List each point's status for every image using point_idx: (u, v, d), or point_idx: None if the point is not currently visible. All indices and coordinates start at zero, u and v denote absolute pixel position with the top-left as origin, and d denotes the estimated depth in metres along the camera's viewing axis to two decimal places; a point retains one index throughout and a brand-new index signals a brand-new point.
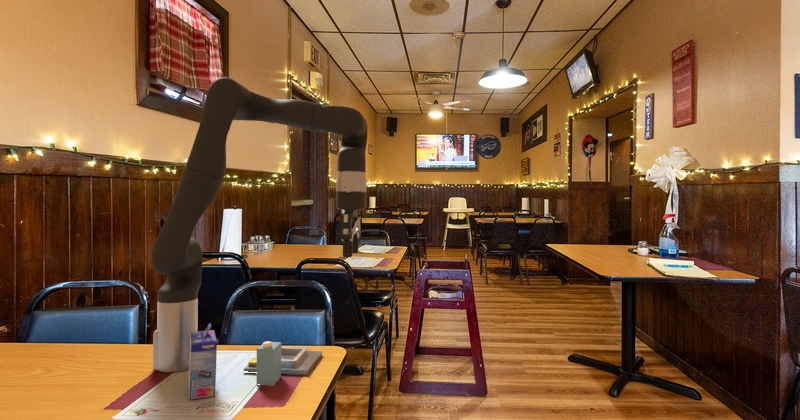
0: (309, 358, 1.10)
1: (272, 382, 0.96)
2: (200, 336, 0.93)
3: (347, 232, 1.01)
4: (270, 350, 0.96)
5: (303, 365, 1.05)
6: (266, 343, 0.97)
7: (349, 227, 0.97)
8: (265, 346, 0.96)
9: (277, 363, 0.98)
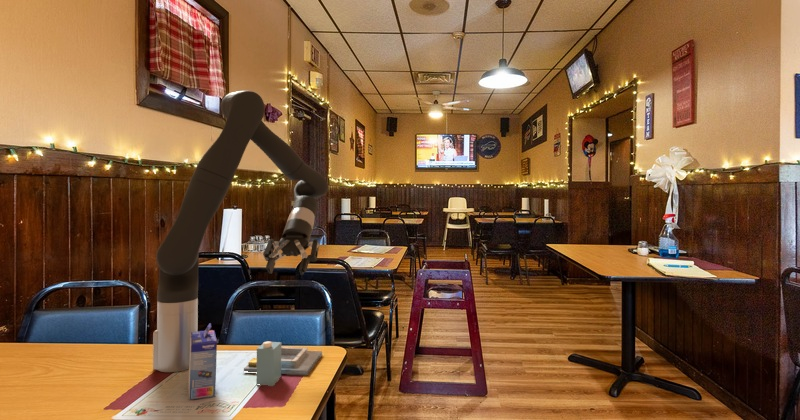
0: (309, 358, 1.10)
1: (272, 382, 0.96)
2: (200, 336, 0.93)
3: None
4: (270, 350, 0.96)
5: (303, 365, 1.05)
6: (266, 343, 0.97)
7: (317, 253, 1.14)
8: (265, 346, 0.96)
9: (277, 363, 0.98)
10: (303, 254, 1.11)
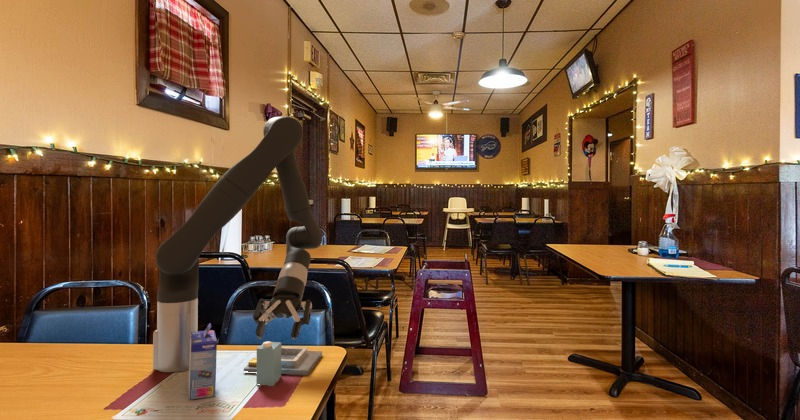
0: (309, 358, 1.10)
1: (272, 382, 0.96)
2: (200, 336, 0.93)
3: None
4: (270, 350, 0.96)
5: (303, 365, 1.05)
6: (266, 343, 0.97)
7: (310, 314, 1.08)
8: (265, 346, 0.96)
9: (277, 363, 0.98)
10: (295, 317, 1.05)
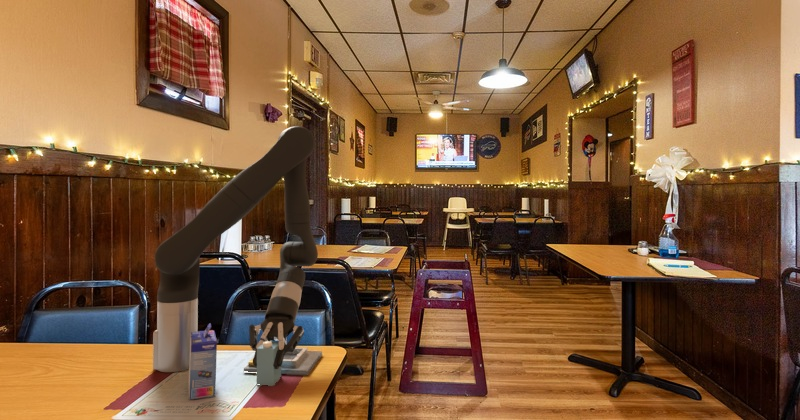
0: (309, 358, 1.10)
1: (272, 382, 0.96)
2: (200, 336, 0.93)
3: None
4: (270, 350, 0.96)
5: (303, 365, 1.05)
6: (266, 343, 0.97)
7: (298, 342, 1.01)
8: (265, 346, 0.96)
9: None
10: (280, 344, 0.99)
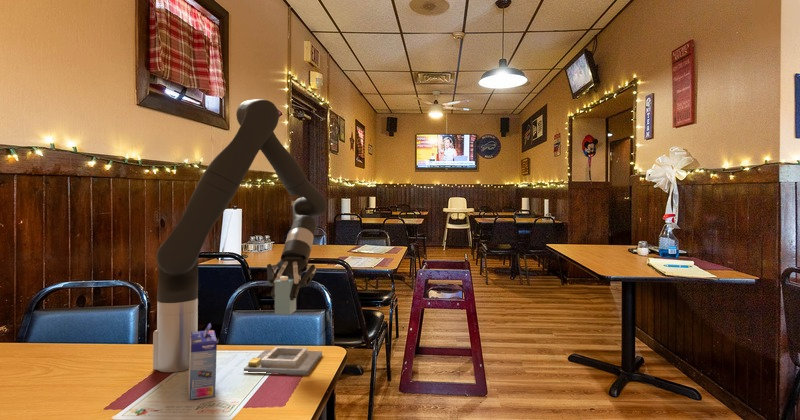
0: (309, 358, 1.10)
1: (288, 311, 1.07)
2: (200, 336, 0.93)
3: None
4: (287, 282, 1.07)
5: (303, 365, 1.05)
6: (282, 276, 1.08)
7: (311, 278, 1.12)
8: (282, 279, 1.07)
9: None
10: (295, 279, 1.10)
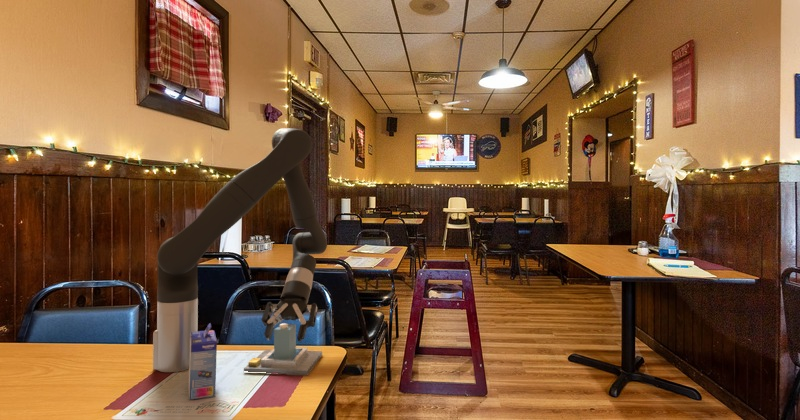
0: (309, 358, 1.10)
1: None
2: (200, 336, 0.93)
3: None
4: (286, 331, 1.07)
5: (303, 365, 1.05)
6: (282, 324, 1.08)
7: None
8: (282, 327, 1.07)
9: (292, 343, 1.09)
10: (301, 320, 1.10)
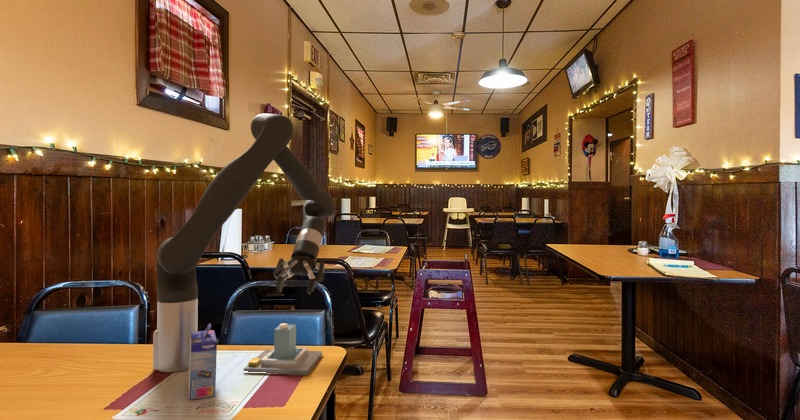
0: (309, 358, 1.10)
1: None
2: (200, 336, 0.93)
3: None
4: (286, 331, 1.07)
5: (303, 365, 1.05)
6: (282, 324, 1.08)
7: None
8: (282, 327, 1.07)
9: (292, 343, 1.09)
10: (311, 275, 1.20)
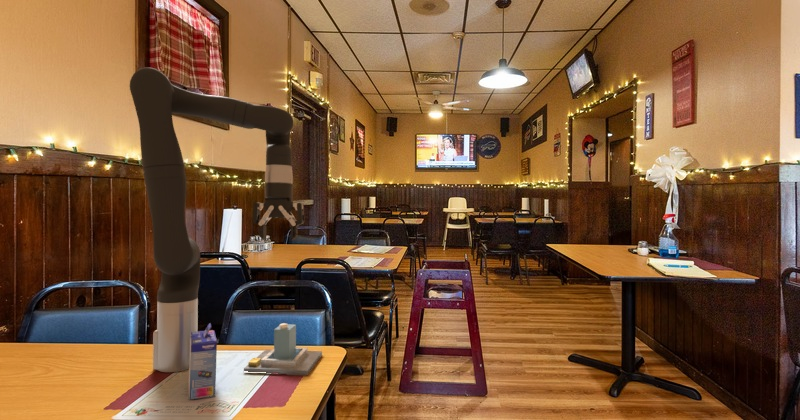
0: (309, 358, 1.10)
1: None
2: (200, 336, 0.93)
3: None
4: (286, 331, 1.07)
5: (303, 365, 1.05)
6: (282, 324, 1.08)
7: (303, 213, 1.18)
8: (282, 327, 1.07)
9: (292, 343, 1.09)
10: (291, 221, 1.16)
